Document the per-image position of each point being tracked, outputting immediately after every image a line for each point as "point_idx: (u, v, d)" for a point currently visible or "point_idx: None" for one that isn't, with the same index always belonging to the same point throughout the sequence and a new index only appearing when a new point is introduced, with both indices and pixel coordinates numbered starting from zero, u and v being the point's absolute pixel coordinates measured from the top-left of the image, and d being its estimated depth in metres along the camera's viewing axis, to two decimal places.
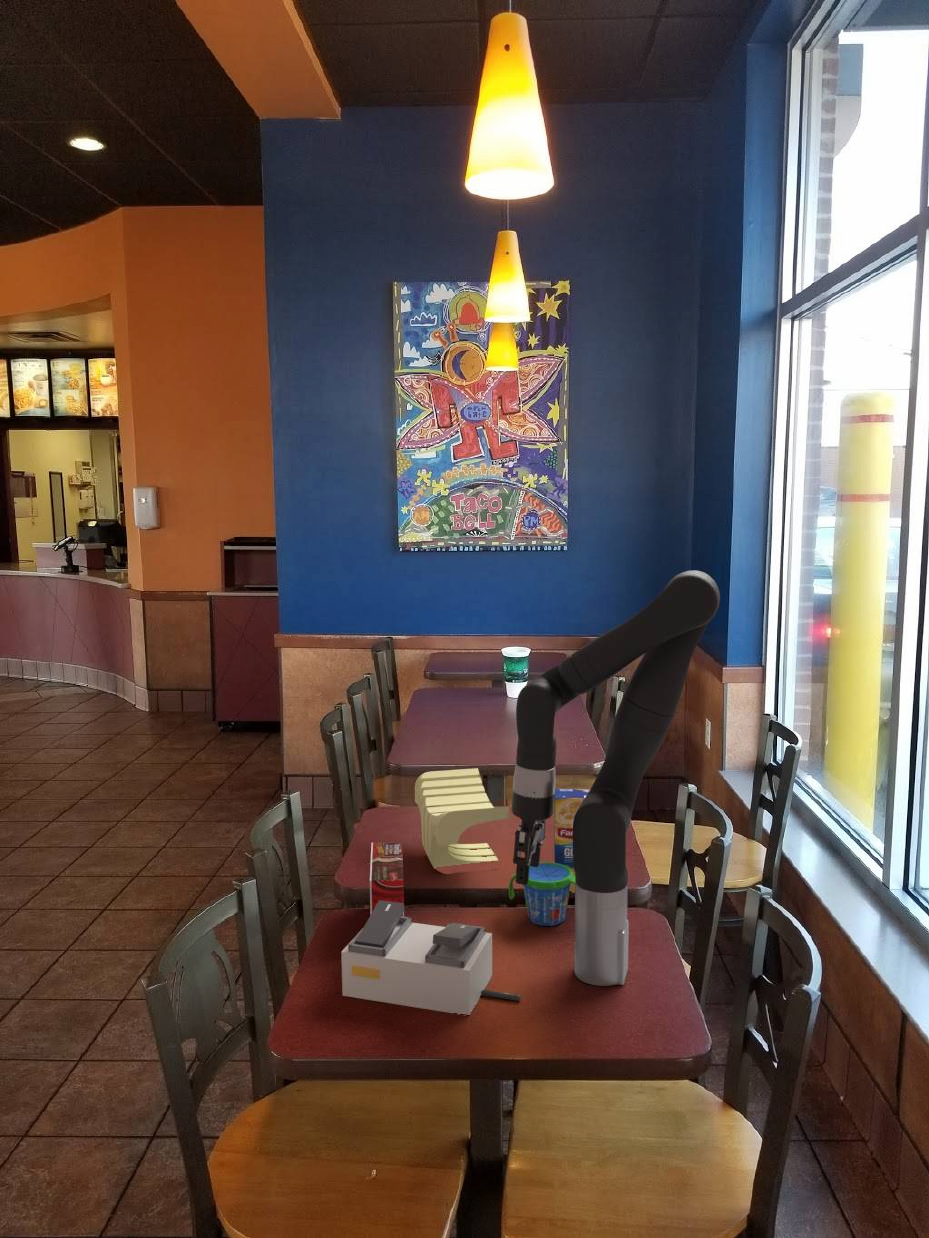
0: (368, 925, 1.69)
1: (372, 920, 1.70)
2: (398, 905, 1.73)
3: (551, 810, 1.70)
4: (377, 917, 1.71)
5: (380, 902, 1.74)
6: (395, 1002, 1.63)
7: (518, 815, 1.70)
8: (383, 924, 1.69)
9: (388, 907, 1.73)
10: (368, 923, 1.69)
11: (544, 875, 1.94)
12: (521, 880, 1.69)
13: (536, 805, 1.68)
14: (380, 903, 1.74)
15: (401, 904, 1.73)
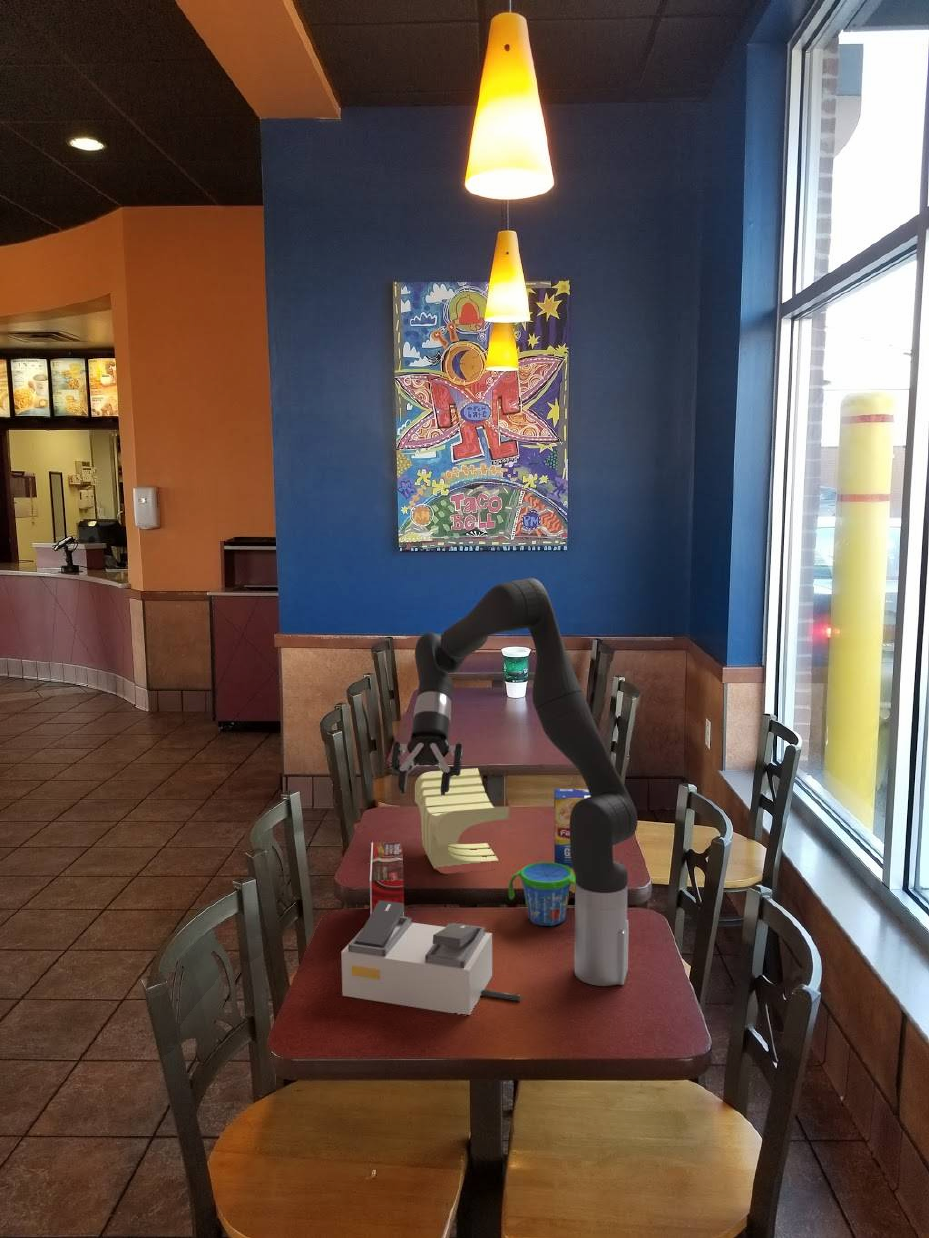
0: (368, 925, 1.69)
1: (372, 920, 1.70)
2: (398, 905, 1.73)
3: (424, 723, 1.90)
4: (377, 917, 1.71)
5: (380, 902, 1.74)
6: (395, 1002, 1.63)
7: None
8: (383, 924, 1.69)
9: (388, 907, 1.73)
10: (368, 923, 1.69)
11: (544, 875, 1.94)
12: (398, 786, 1.86)
13: (413, 722, 1.93)
14: (380, 903, 1.74)
15: (401, 904, 1.73)
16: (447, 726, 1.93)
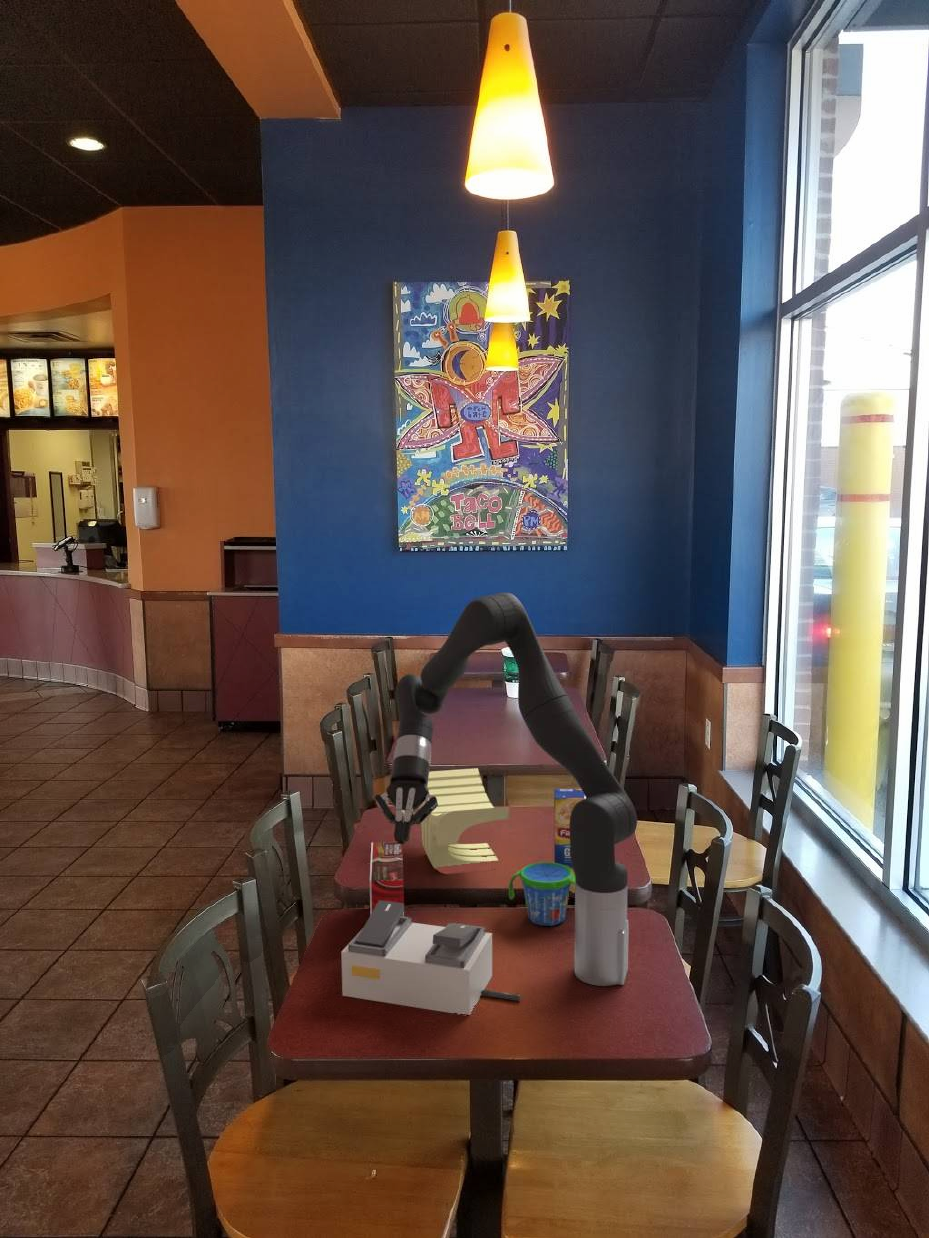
0: (368, 925, 1.69)
1: (372, 920, 1.70)
2: (398, 905, 1.73)
3: (403, 767, 1.90)
4: (377, 917, 1.71)
5: (380, 902, 1.74)
6: (395, 1002, 1.63)
7: None
8: (383, 924, 1.69)
9: (388, 907, 1.73)
10: (368, 923, 1.69)
11: (544, 875, 1.94)
12: (394, 837, 1.85)
13: (392, 766, 1.93)
14: (380, 903, 1.74)
15: (401, 904, 1.73)
16: (427, 770, 1.92)
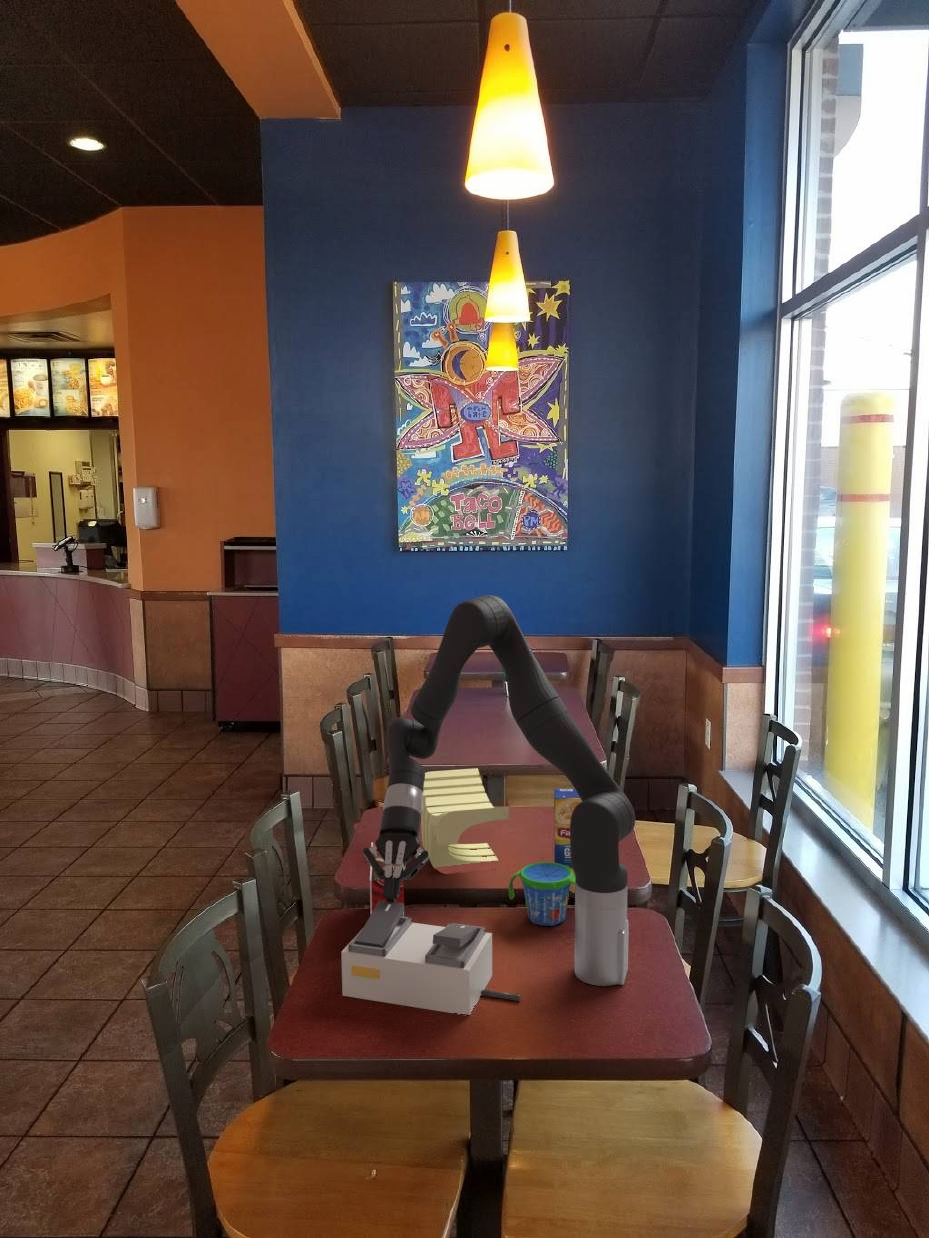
0: (368, 925, 1.69)
1: (372, 920, 1.70)
2: (398, 905, 1.73)
3: (393, 819, 1.80)
4: (377, 917, 1.71)
5: (380, 902, 1.74)
6: (395, 1002, 1.63)
7: None
8: (383, 924, 1.69)
9: (388, 907, 1.73)
10: (368, 923, 1.69)
11: (544, 875, 1.94)
12: (383, 894, 1.75)
13: (382, 817, 1.83)
14: (380, 903, 1.74)
15: (401, 904, 1.73)
16: (418, 821, 1.82)
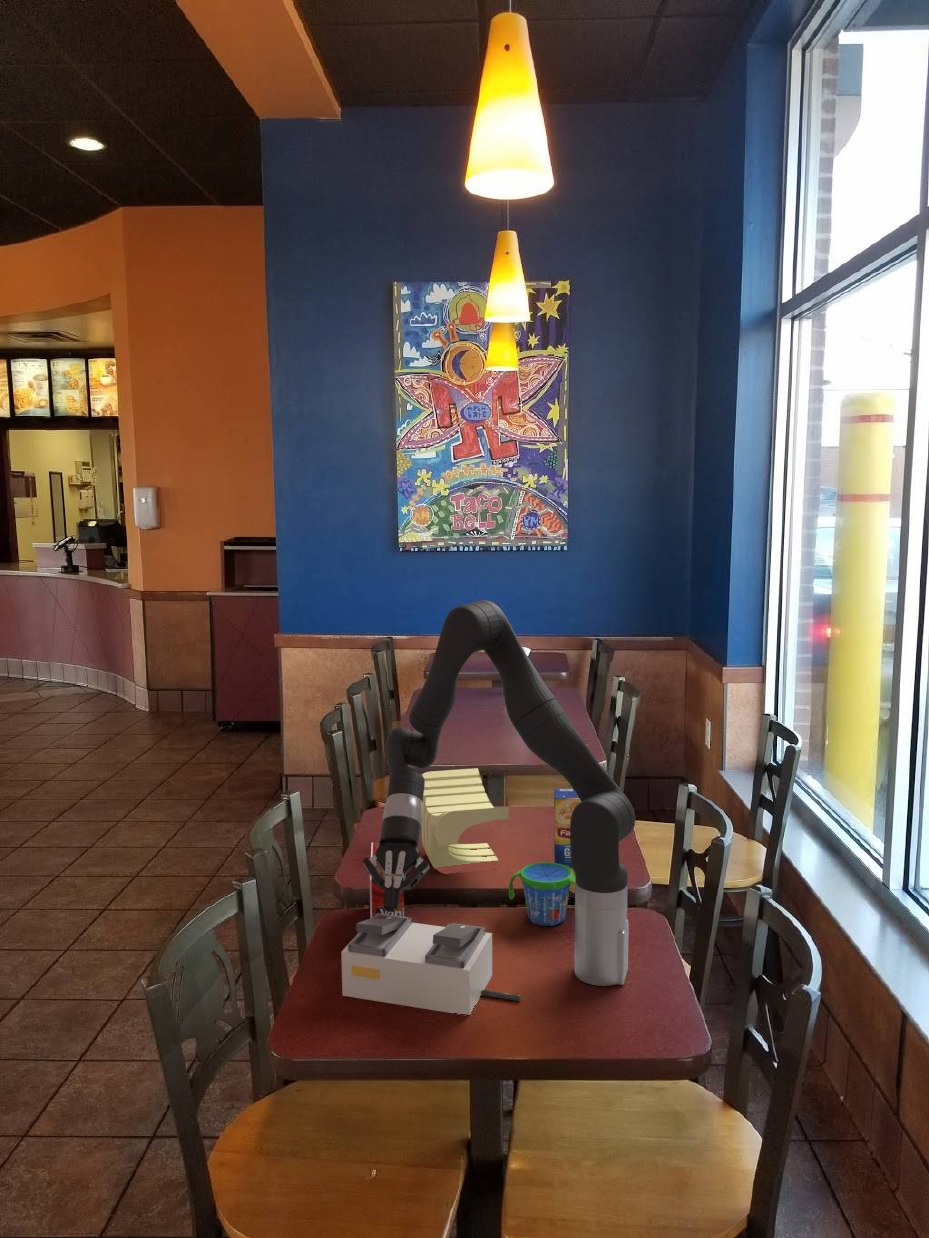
0: (368, 920, 1.69)
1: (373, 919, 1.70)
2: (398, 918, 1.74)
3: (392, 829, 1.80)
4: (378, 919, 1.71)
5: (381, 916, 1.75)
6: (395, 1002, 1.63)
7: None
8: (384, 921, 1.69)
9: (389, 918, 1.74)
10: (369, 919, 1.70)
11: (544, 875, 1.94)
12: (383, 904, 1.75)
13: None
14: (381, 916, 1.75)
15: (402, 918, 1.74)
16: (418, 831, 1.82)
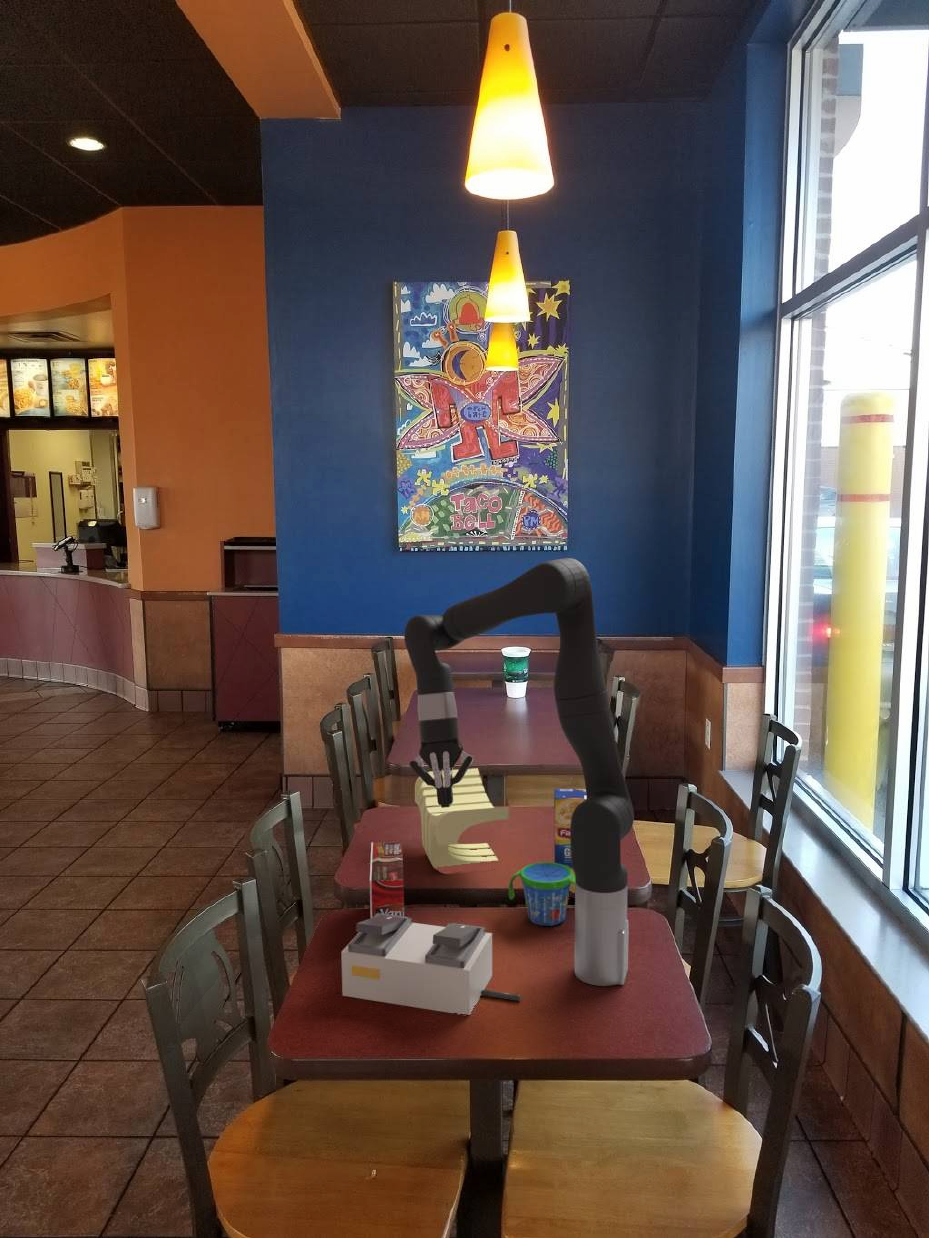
0: (368, 920, 1.69)
1: (373, 919, 1.70)
2: (398, 918, 1.74)
3: (431, 734, 1.83)
4: (378, 919, 1.71)
5: (381, 916, 1.75)
6: (395, 1002, 1.63)
7: None
8: (384, 921, 1.69)
9: (389, 918, 1.74)
10: (369, 919, 1.70)
11: (544, 875, 1.94)
12: None
13: (419, 727, 1.85)
14: (381, 916, 1.75)
15: (402, 918, 1.74)
16: (456, 727, 1.84)
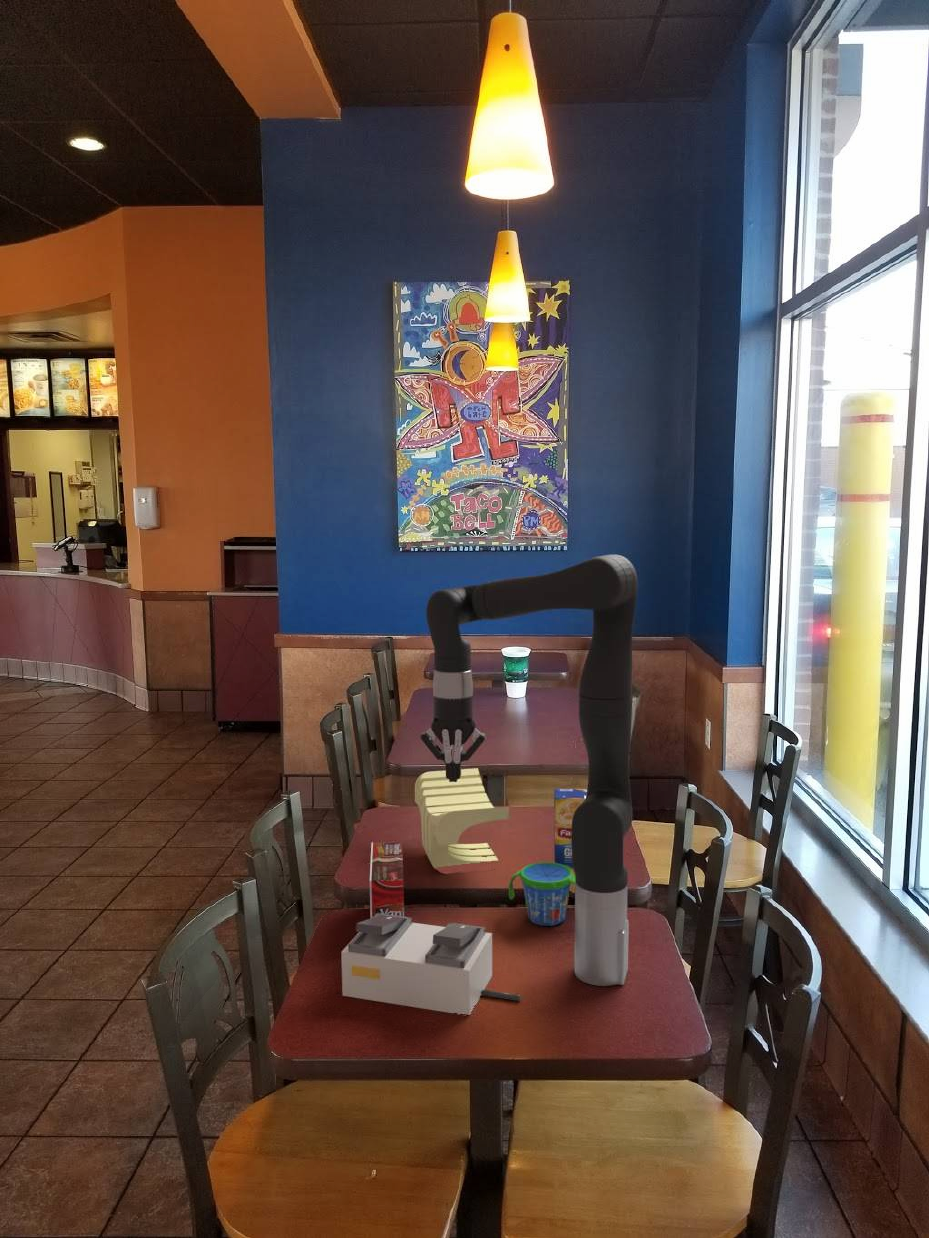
0: (368, 920, 1.69)
1: (373, 919, 1.70)
2: (398, 918, 1.74)
3: (446, 713, 1.79)
4: (378, 919, 1.71)
5: (381, 916, 1.75)
6: (395, 1002, 1.63)
7: None
8: (384, 921, 1.69)
9: (389, 918, 1.74)
10: (369, 919, 1.70)
11: (544, 875, 1.94)
12: (446, 776, 1.85)
13: (433, 703, 1.82)
14: (381, 916, 1.75)
15: (402, 918, 1.74)
16: (470, 705, 1.81)
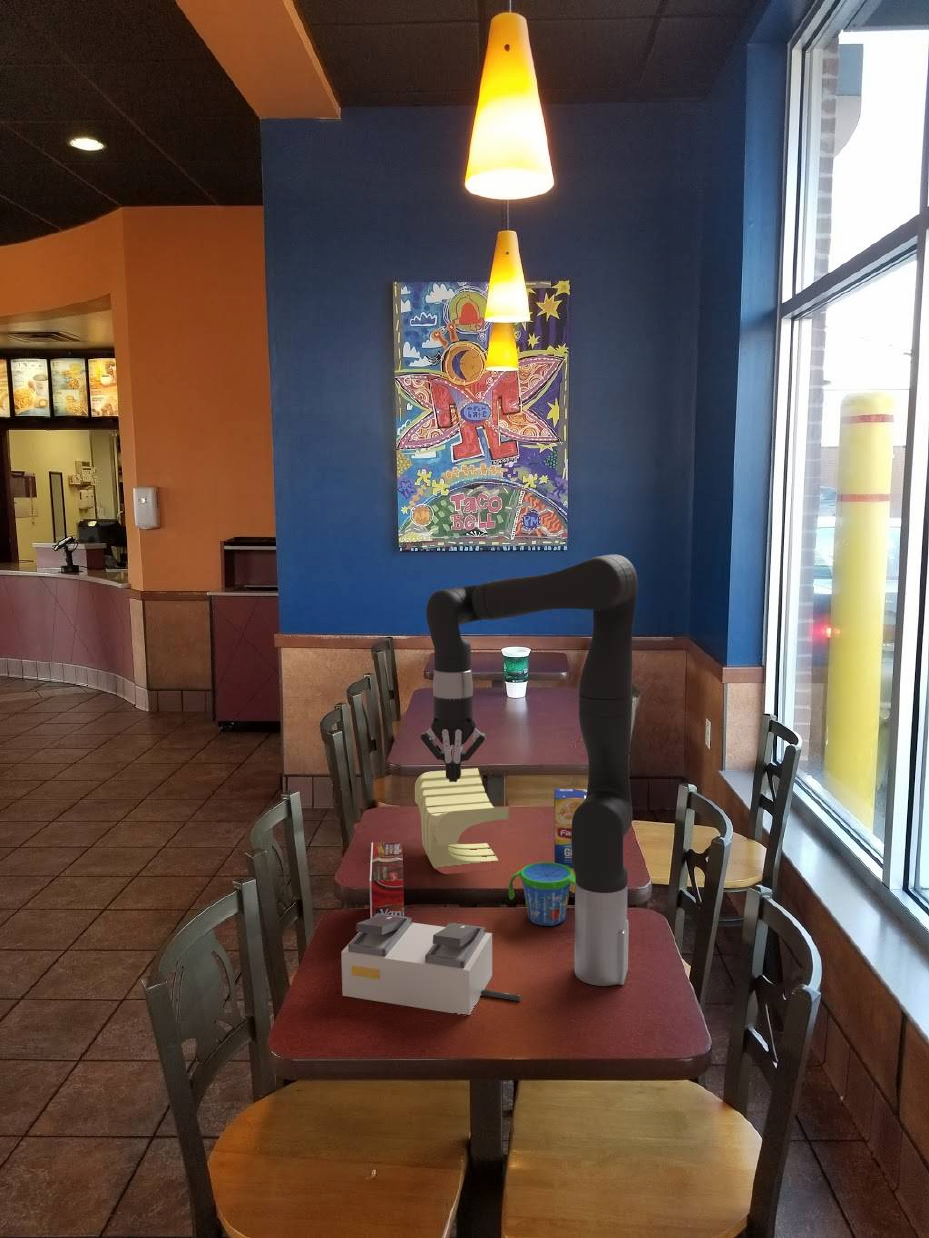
0: (368, 920, 1.69)
1: (373, 919, 1.70)
2: (398, 918, 1.74)
3: (446, 713, 1.79)
4: (378, 919, 1.71)
5: (381, 916, 1.75)
6: (395, 1002, 1.63)
7: None
8: (384, 921, 1.69)
9: (389, 918, 1.74)
10: (369, 919, 1.70)
11: (544, 875, 1.94)
12: (446, 776, 1.85)
13: (433, 703, 1.82)
14: (381, 916, 1.75)
15: (402, 918, 1.74)
16: (470, 705, 1.81)
